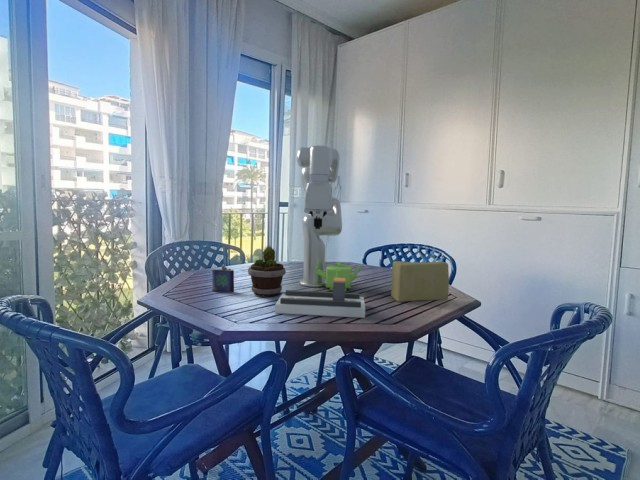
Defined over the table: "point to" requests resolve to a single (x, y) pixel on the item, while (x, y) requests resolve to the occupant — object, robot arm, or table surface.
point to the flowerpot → (266, 274)
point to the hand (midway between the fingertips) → (317, 228)
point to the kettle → (338, 274)
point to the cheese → (419, 281)
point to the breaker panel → (321, 308)
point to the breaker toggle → (339, 289)
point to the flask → (223, 279)
